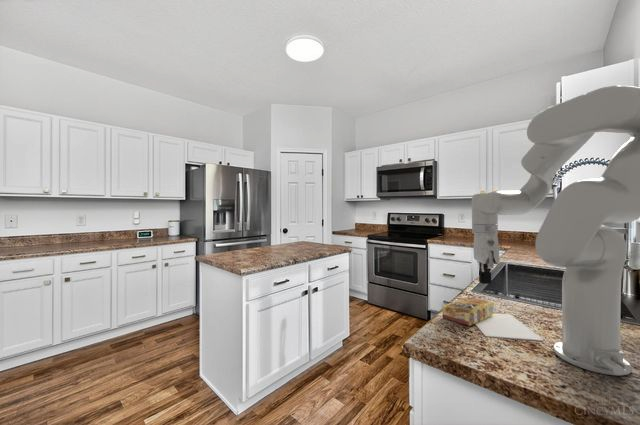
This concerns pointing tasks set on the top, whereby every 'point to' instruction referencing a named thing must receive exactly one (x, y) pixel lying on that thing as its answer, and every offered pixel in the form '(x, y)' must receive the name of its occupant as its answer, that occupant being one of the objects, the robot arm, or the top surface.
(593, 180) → the robot arm
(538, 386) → the top surface
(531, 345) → the top surface
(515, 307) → the top surface
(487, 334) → the baking mat
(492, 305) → the candy box
